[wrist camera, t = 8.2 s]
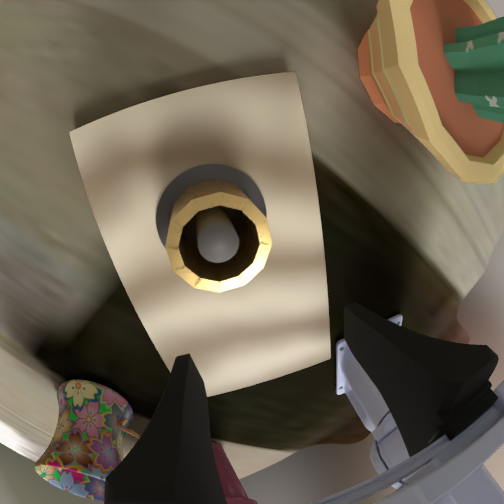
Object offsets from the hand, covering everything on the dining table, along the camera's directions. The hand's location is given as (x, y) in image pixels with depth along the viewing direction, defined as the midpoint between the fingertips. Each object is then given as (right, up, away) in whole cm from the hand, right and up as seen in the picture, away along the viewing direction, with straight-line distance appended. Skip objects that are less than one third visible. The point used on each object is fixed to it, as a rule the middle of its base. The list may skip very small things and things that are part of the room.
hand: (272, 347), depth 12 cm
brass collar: (-3, +6, +5) cm, 9 cm away
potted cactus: (+11, +18, +5) cm, 22 cm away
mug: (-16, -11, +11) cm, 22 cm away
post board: (-3, +3, +8) cm, 9 cm away
